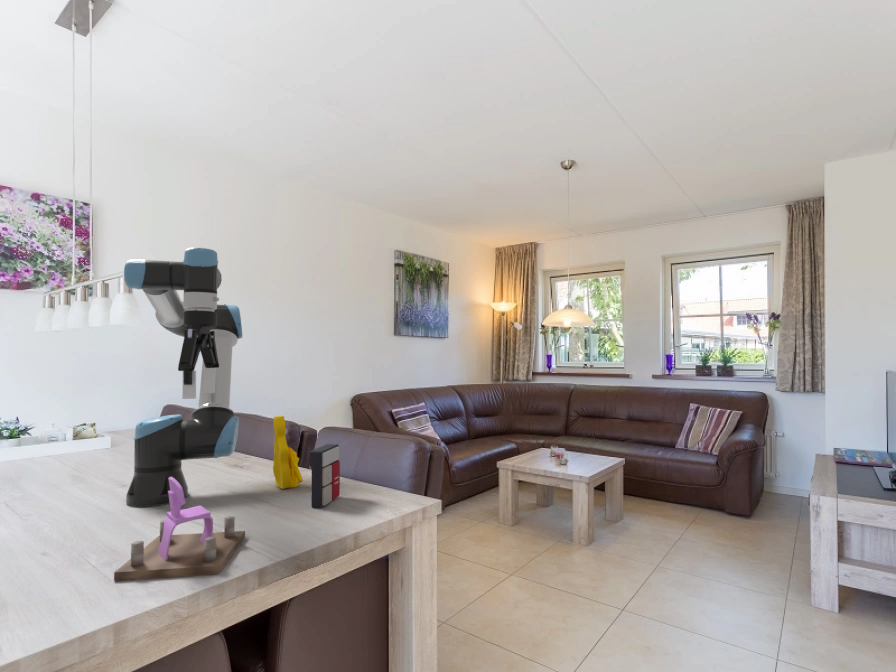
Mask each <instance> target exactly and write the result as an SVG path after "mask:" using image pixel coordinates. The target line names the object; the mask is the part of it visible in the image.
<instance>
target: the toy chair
mask: <svg viewBox="0 0 896 672" xmlns="http://www.w3.org/2000/svg"><path fill="white" fill-rule="evenodd" d="M168 479H169V485H170V491H168V494H169V502H170V503H169V507H170V511H167V512H166V517H165V519H164V520H165V521H164V530H163V537H162V540H161V543H160V546H159V549H158V553H159V554H160V555H161V556H162V558H163V559H164V560H165V561H167V560H168V552H169V546H170V541H171V537H172V535H174V534H173V533H174V530H175V529H176V528H177V526H179V525H181V524H184V523H188V522H192V521H197V520H202V519H203V523H204V524H203V525H204V527H203V532H202V533H203V534H202V537H201V539H200V541H201V542H202V543H203V544H204V545H205V538H208V537H212V536H213V533H214V518H213V517H212V516H211V514H212V513H211V511H209V510H207V509H206V508H205V507H203V506H202V505H197V506H191V507H189V508H184V509H181V507H182V506H183V505H184V504H185V503H186V502H187V501H186V497H185V498H184V493H183V489H182V487H181V485H180V484H179V483H178V481H177V480H175V479H174V478H173V477H169V478H168Z"/></svg>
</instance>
